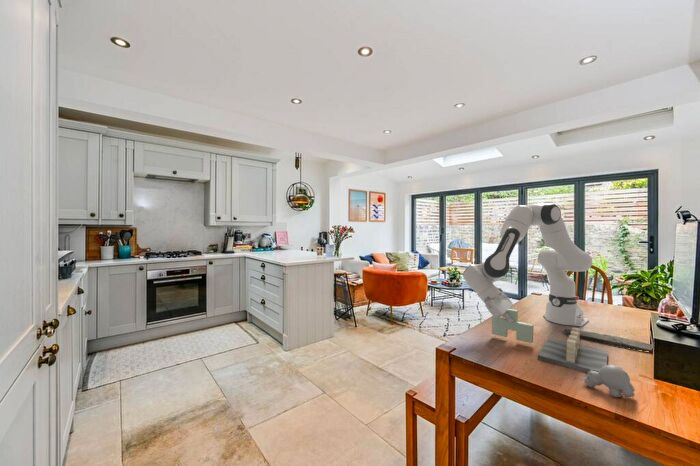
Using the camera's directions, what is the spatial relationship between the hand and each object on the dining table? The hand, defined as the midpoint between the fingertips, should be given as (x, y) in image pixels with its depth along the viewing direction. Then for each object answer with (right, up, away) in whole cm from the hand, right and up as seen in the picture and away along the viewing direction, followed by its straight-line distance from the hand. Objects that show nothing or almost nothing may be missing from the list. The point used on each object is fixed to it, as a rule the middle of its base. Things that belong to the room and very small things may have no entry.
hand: (513, 321), depth 130 cm
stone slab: (+43, -10, +3) cm, 44 cm away
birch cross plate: (+16, -10, -14) cm, 23 cm away
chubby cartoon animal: (+8, -11, -38) cm, 40 cm away
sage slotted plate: (0, -8, +1) cm, 8 cm away
